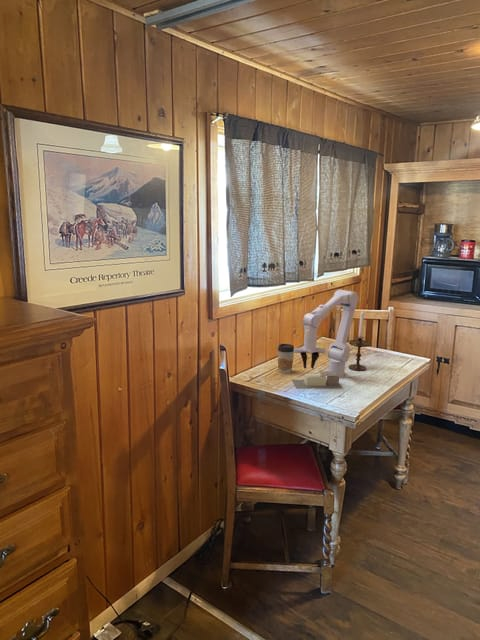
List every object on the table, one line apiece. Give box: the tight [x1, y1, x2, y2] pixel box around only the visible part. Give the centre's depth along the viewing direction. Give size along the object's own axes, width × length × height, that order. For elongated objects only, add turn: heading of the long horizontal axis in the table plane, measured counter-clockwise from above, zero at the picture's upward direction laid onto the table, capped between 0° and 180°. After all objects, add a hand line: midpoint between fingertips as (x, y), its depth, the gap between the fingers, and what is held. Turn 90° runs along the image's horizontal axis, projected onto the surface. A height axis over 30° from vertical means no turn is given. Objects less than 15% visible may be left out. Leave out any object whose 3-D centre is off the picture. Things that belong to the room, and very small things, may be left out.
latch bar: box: [319, 370, 336, 377], centre depth 228 cm, size 2×7×2 cm, turn 95°
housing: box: [291, 375, 344, 390], centre depth 228 cm, size 12×22×6 cm, turn 95°
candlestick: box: [348, 304, 371, 372], centre depth 255 cm, size 11×11×35 cm
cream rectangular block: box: [303, 373, 327, 386], centre depth 228 cm, size 5×9×4 cm, turn 95°
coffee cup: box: [277, 343, 295, 375], centre depth 244 cm, size 8×8×15 cm
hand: (308, 367), depth 226 cm, fingers open, 3 cm apart
